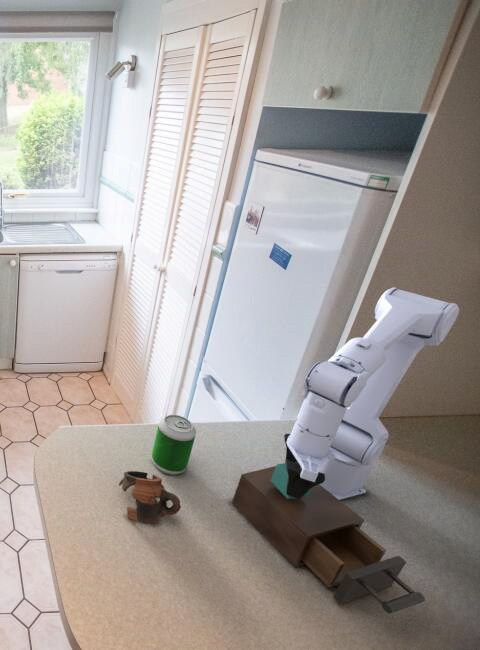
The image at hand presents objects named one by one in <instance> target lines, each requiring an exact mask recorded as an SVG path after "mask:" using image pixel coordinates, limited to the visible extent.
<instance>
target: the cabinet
mask: <svg viewBox="0 0 480 650" xmlns="http://www.w3.org/2000/svg"><path fill="white" fill-rule="evenodd" d="M276 466H277V465H274V466H269V467H266V468H262V469H261V468H260V469H257V470H254V471H248V472H245V473H242V474H240V478H239V481H238V482H237V483H238V484H237V486H236V489H235V492H234V495H233V498H232V501H231V504H232V506H233V507H234V508H235V509H236V510H237V511H238V512H239V513H240V514H241V515H242V516H243V517H244V518H245V519H246V520H247V521H248V522H249V523H250V524H251V525H252V526H253V527H254V528H255V530H257V531H258V532H259V533H260V534H261V535H262V536H263V537H264V538H265V539H266V540H267V541H268V542H269V543H270V544H271V546H273V547H274V549H276V551H278V552H279V553H280V554H281V555H282V556H283V557H284V559H286V560H287V562H288V563H289V564H290V565H291V566H292V567H293V568H297V567H301V566H304V565H306V564H305V563H304V562H303V561H302V560H301V559H302V556H303V554H304V552H305V550H306V548H307V546H308V544H309V541H310V539H311V538H313V537H317V536H320V535H324V534H327V533H331V532H334V531H337V530H341V529H344V528H348V527H351V526H354V525H356V526H357V527H358V528H360V529H361V527H362V526H363V524H364V522H365V519H364V518H363V517H362V516H361V515H359V514H358V513H356V512H355V511H354V510H353V509H351V508H350V507H349V506H347V505H346V504H345V503H344V502H343V501H341V500H339V499H337V498H336V497H335V496H334V495H332V494H331V493H330V492H329V491H327V490H326V489H325V488H323V487H322V486H321V485H320V484H318V485H316V486H314V487H313V489H312V491H311V493H310V496H309V497H302V498H300V499H297V498H294V499H287V498H286V497H285V496H284V495H283V494H282V493H281V492H280V491H279V489H278V488H277V487H276V486H275V485H274V484H273V483H272V482H271V479H272V476H273V474H274V471H275V468H276Z"/></svg>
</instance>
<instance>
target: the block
mask: <svg viewBox="0 0 480 650" xmlns="http://www.w3.org/2000/svg"><path fill="white" fill-rule="evenodd" d="M295 463H298V462H295ZM275 466H276V468H275V471H274V474H273V476H272V479H271V482H272V483H273V484H274V485H275V486H276V487H277V488H278V489H279V491H280V492H281V493H282V494H283V495H284V496H285V497H286V498H287V499H294V497H291V496H289V495H287V493H286V486H287V481H288V472H287V468H286V463H285V462H284V463H277V464H276V465H275ZM312 489H313V487H312V488H311V489H310V490H309V491H308V492H307V493H306V494H305V495H304V496H303V497H309V496H310V493H311V491H312Z"/></svg>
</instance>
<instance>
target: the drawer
mask: <svg viewBox="0 0 480 650" xmlns="http://www.w3.org/2000/svg"><path fill="white" fill-rule="evenodd" d="M386 552H387V549H386V548H384V547H383V546H382V545H381V544H380V543H378V542H377V541H376V540H375V539H373V538H372V537H371V536H369V535H368V534H367V533H366V532H365V531H364V530H362V529H361V527H360V528H358V527H357V526H356V525H354V526H351V527H348V528H344V529H341V530H337V531H334V532H331V533H327V534H324V535H320V536H317V537H313V538H311V539H310V541H309V544H308V546H307V548H306V550H305V552H304V554H303V556H302V559H301V560H302V561H303V562H304V563H305V564H304V565H306V566H307V568H309V570H311V571H312V572H313V574H315V575H316V576H317V577H318V578H319V579H320V580H321V582H323V583H324V585H325V586H327V587H328V588H332V587H335V586H338V588H337V589H336V591H335V593H334V595H333V597H332V598H333V599H334V600H335V601H336V602H337V603H338V604H339V605H341V604H346V603H347V602H351V601H353V600H357V599H359V598H362V597H365V596H368V595H371V596H372V597H373V598H374V599H375V600H376V601H377V602H379V604H380V605H381V609H382V610H383V611H384V612H385V613H387V614H388V615H389V614H390V615H391V614H393V613H397V612H399V611H401V610H404V609H408V608H410V607H413V606H415V605H418V604H422V603H424V602H425V601H426V599H425V598H426V597H425V596H424V595H423V593H421V592H419V591H415V590H413V589H412V587H410V586H409V585H408V584H406V583H405V582H404V581H403V580H402V579H401V578H399V575H400V574H401V572H402V570H403V568H404V567H405V565H406V563H407V561H406V560H405V559H404V558H402V557H401V556H400V555H396V556H393V557H390V558H387V559H384V560H382V559H383V557H384V556H385V553H386ZM395 583H396V584H397V585H398V586H400V587H401V588H402V589H403V590H404V591H405V592H406V593H407V594H404V595H401V596H399V597H395V598H393V599H390V600H387V601H386V600H385V599H384V598H383V597H382V596H381V595H380V594H379V593H377V592H380V591H382V590H386V589H389V588H391V587H392V586H393V584H395Z"/></svg>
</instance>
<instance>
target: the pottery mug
mask: <svg viewBox="0 0 480 650" xmlns="http://www.w3.org/2000/svg"><path fill="white" fill-rule="evenodd" d="M123 474H124V475H123V478H122V479H121V480H120V481H119V483H118V486H119V487H120V486H122V487H121V489H122V490H123V491H124V492H126V491H127V490H128V489H129V488H131V487H133V488H132V491H131V496H132V498H134V500H135V505H136V508H134V507H131V506H127V508H126V512H127V518H128V519H130V520H131V521H135V522H138V523H139V522H140V523H143V524H157V523H158V520H159V518H160V517H161V518H162V517H165V516H174V515H176V514H177V513H179V512H180V510H181V508H182V506H181V500H180V498H179V497H178V496H177V495H176V494H174V493H172V492H169V491H167V490H166V489H165V487H164V485H163V484H162V482H163V478H162V477H161V476H159V475H156V474H152V475H151V476H152V477H151V478H150V477H148V472H145V471H137V470H127V471H124V472H123ZM157 499H159V500H157ZM168 501H170V502H171V503H172V505H171V506H170V507H169V506H168V504H167V502H168Z"/></svg>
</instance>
